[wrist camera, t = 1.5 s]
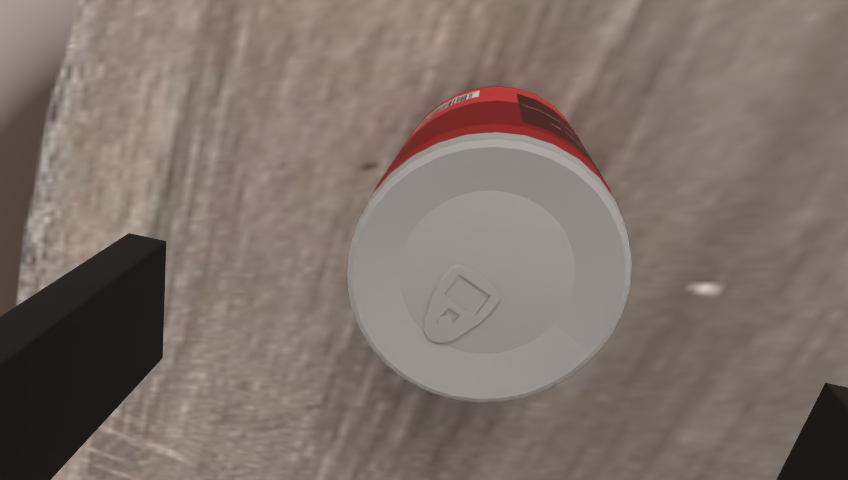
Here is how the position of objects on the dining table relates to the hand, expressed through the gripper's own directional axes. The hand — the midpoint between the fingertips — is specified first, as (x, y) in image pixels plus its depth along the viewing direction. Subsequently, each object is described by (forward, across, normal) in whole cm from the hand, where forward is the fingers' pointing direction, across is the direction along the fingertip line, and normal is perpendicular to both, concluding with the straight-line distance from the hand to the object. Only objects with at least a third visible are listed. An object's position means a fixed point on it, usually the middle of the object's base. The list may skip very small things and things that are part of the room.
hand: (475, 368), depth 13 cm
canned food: (+16, 0, 0) cm, 16 cm away
